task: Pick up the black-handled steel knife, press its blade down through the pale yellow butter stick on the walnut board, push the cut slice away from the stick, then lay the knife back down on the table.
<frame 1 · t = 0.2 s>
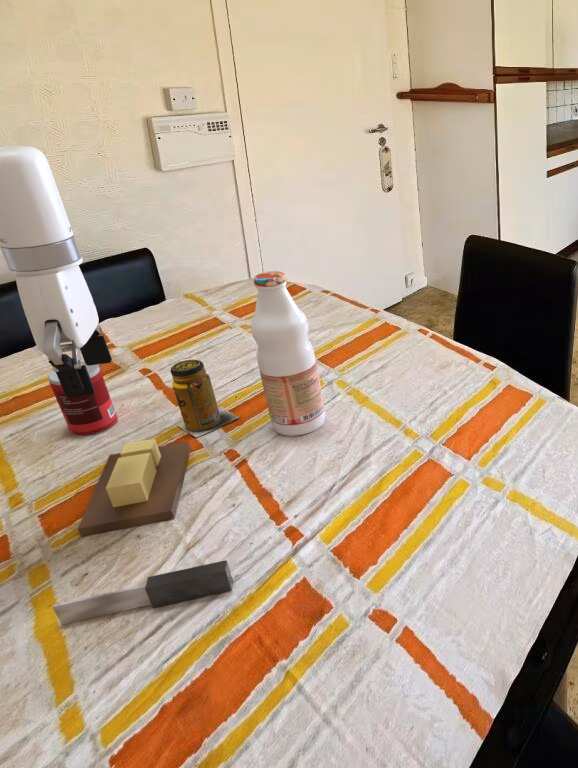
hand: (90, 378, 84), 21 cm above the table, tool pointing down, fingers open, 9 cm apart
canned food: (94, 425, 114), on the table
butter slice: (141, 454, 99), point 3 cm above the table, slide at 0.0 cm, touching board
butter stick: (135, 488, 95), resting on board
board: (141, 488, 97), on the table
knife: (154, 602, 77), on the table
condiment: (209, 423, 114), on the table
fruit juice: (300, 424, 114), on the table
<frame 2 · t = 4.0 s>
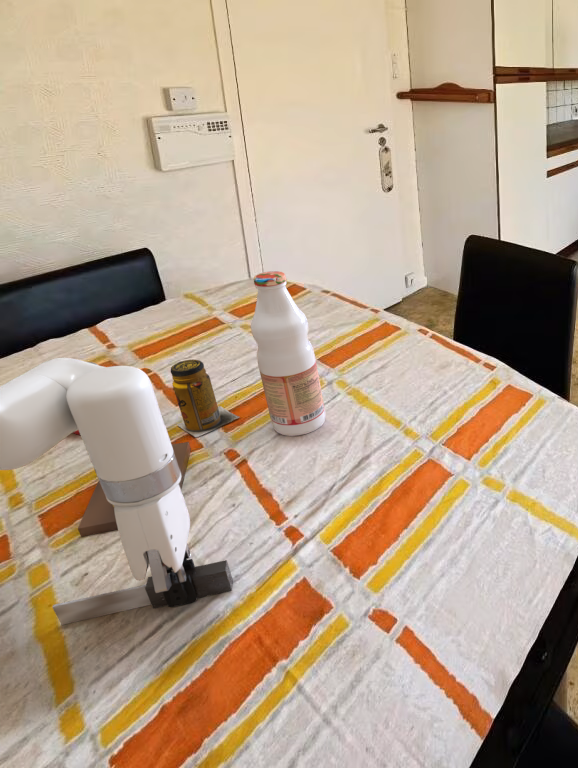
hand: (184, 593, 78), 0 cm above the table, tool pointing down, fingers closed on knife, 2 cm apart
knife: (154, 602, 77), on the table, touching gripper
everything else where it was.
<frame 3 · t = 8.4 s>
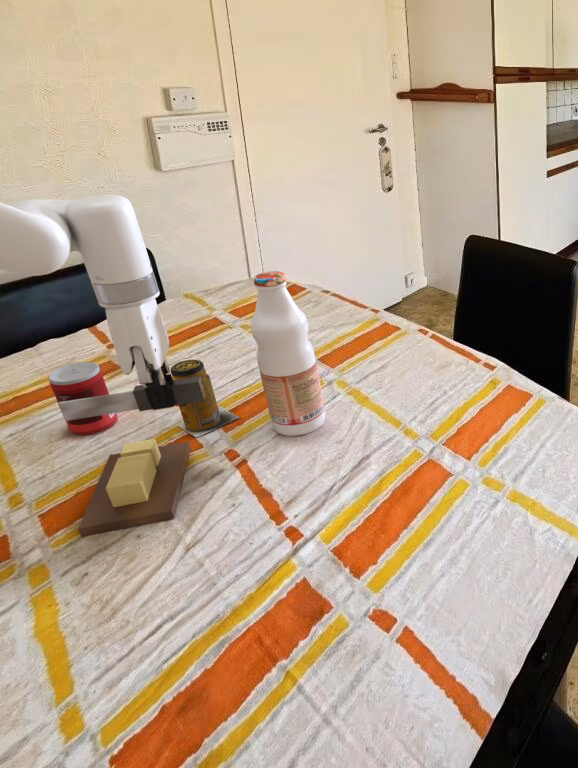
hand: (165, 402, 95), 13 cm above the table, tool pointing down, fingers closed on knife
knife: (140, 408, 94), point 12 cm above the table, touching gripper
everything else where it was.
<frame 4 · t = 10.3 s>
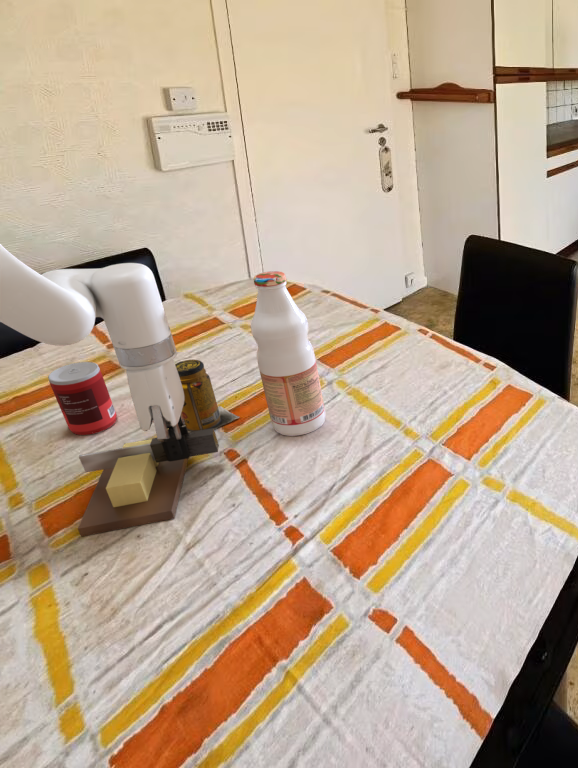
hand: (180, 453, 99), 4 cm above the table, tool pointing down, fingers closed on knife, 2 cm apart
knife: (157, 459, 98), point 3 cm above the table, touching gripper
everything else where it was.
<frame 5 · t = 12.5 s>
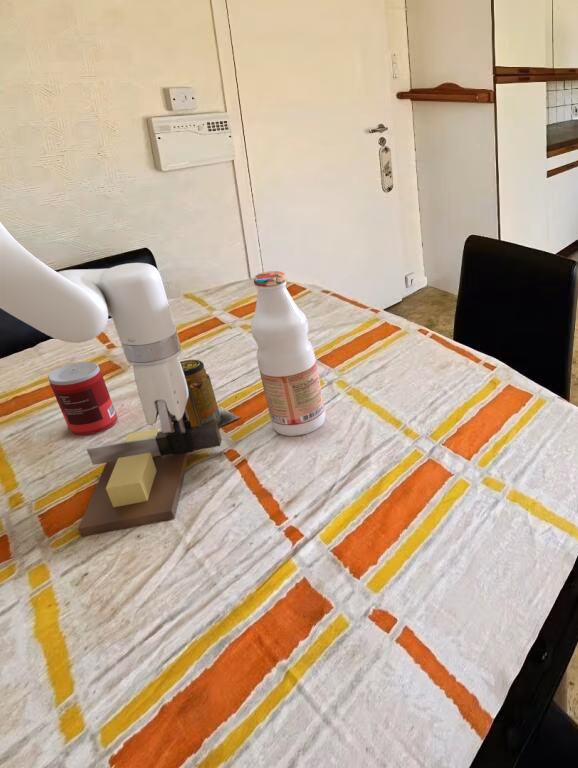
hand: (184, 447, 103), 2 cm above the table, tool pointing down, fingers closed on knife, 2 cm apart
butter slice: (144, 444, 102), point 3 cm above the table, slide at 3.2 cm, touching board, knife
knife: (162, 452, 102), point 2 cm above the table, touching butter slice, gripper
everything else where it was.
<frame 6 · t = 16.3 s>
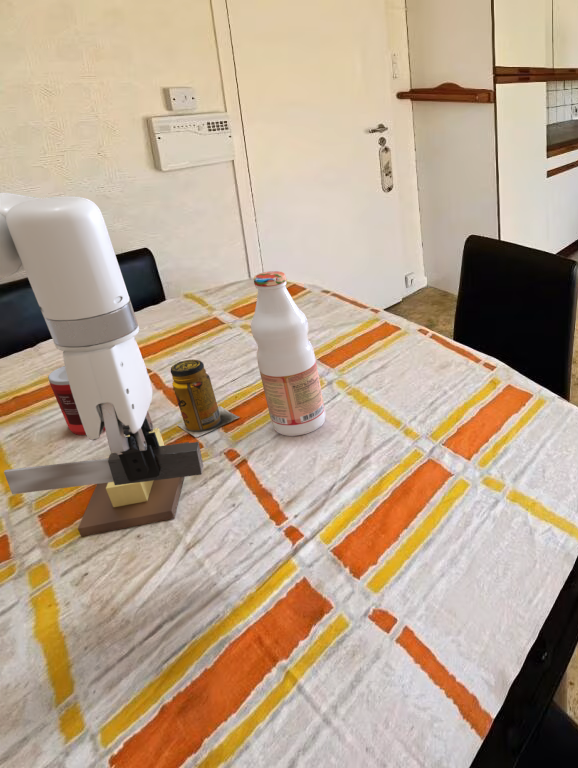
hand: (146, 469, 72), 17 cm above the table, tool pointing down, fingers closed on knife
butter slice: (145, 443, 102), point 3 cm above the table, slide at 3.4 cm, touching board
knife: (116, 480, 71), point 17 cm above the table, touching gripper
everything else where it was.
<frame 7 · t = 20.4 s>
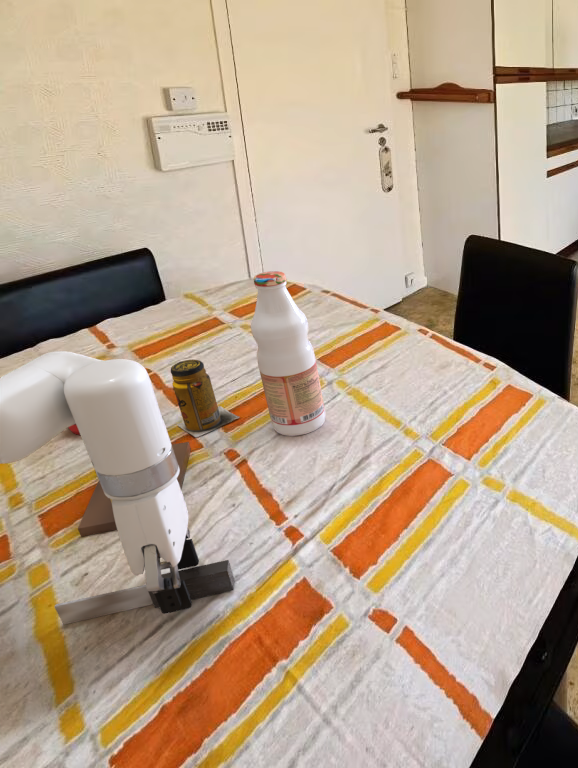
hand: (181, 586, 77), 2 cm above the table, tool pointing down, fingers open, 6 cm apart
knife: (156, 602, 77), on the table
everything else where it was.
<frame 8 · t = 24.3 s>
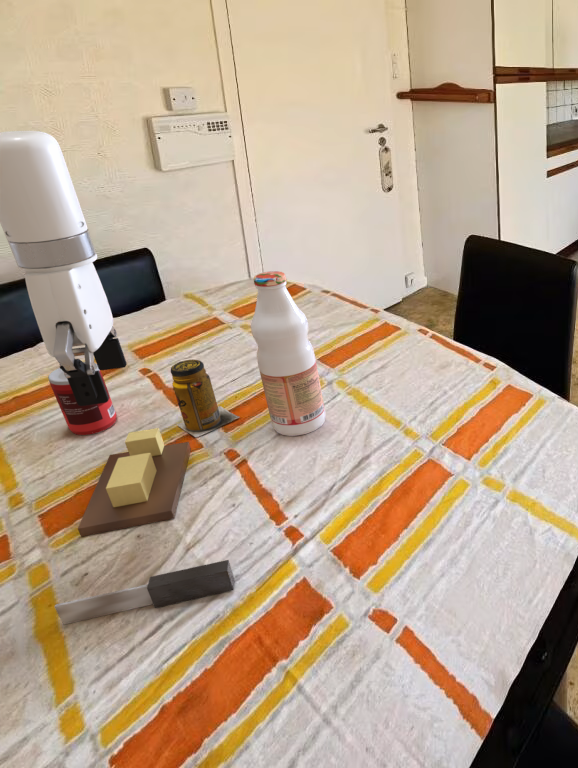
hand: (104, 384, 78), 23 cm above the table, tool pointing down, fingers open, 9 cm apart
nothing on the table moved.
at the end: butter slice slide at 3.4 cm; the gripper is holding nothing; knife inside the target area (0.3 cm from its centre), on the table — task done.
